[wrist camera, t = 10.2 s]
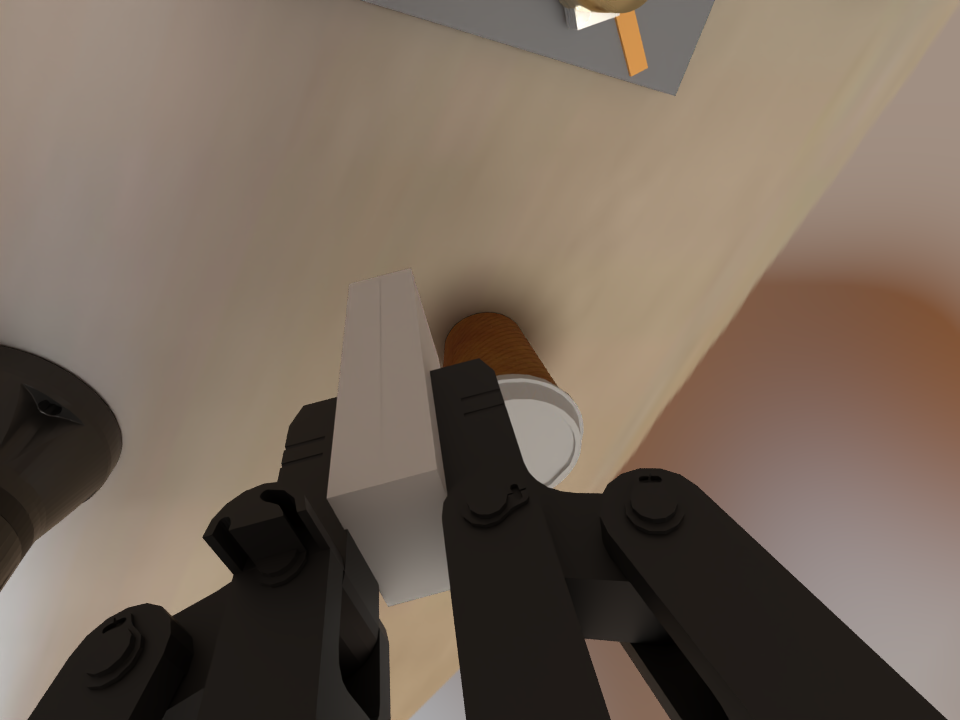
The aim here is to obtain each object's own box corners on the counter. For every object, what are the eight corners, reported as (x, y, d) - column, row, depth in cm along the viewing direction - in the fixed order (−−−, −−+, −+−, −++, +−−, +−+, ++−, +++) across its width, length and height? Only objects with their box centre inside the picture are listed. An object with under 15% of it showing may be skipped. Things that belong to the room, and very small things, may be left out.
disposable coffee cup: (435, 283, 37) (449, 383, 27) (559, 302, 39) (612, 401, 30) (414, 388, 42) (419, 504, 32) (525, 400, 44) (561, 512, 35)
